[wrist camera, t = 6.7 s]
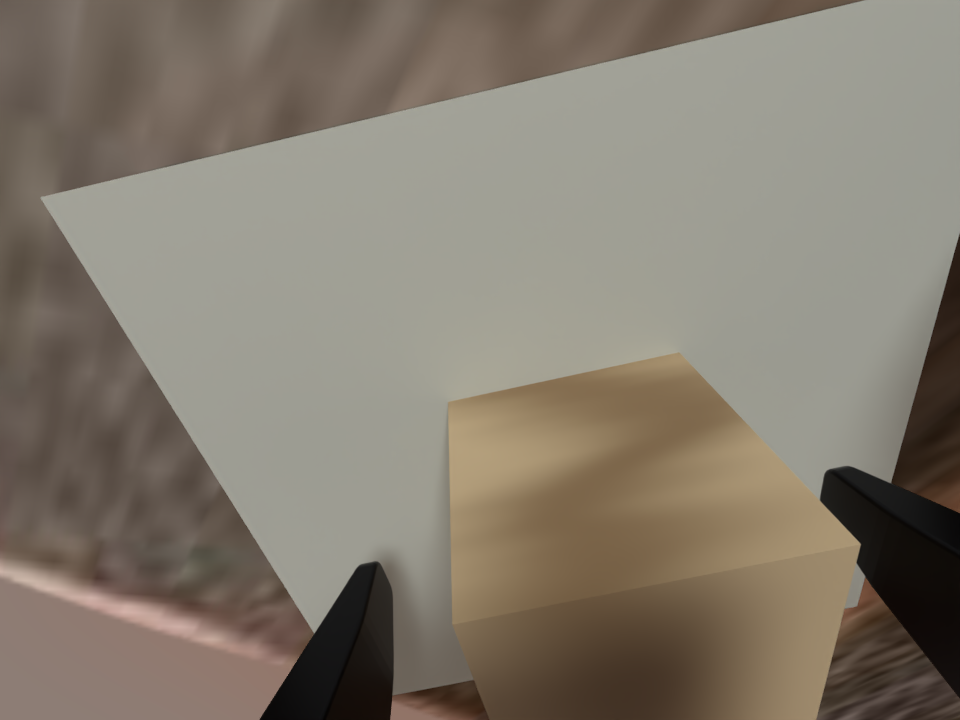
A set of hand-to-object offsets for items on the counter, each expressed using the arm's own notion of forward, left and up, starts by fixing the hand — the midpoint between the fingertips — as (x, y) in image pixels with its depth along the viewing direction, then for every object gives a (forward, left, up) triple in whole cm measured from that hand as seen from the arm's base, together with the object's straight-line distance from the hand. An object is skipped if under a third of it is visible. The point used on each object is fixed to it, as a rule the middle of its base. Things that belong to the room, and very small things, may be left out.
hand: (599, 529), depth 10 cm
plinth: (0, 0, -5) cm, 5 cm away
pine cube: (0, 0, -2) cm, 2 cm away
